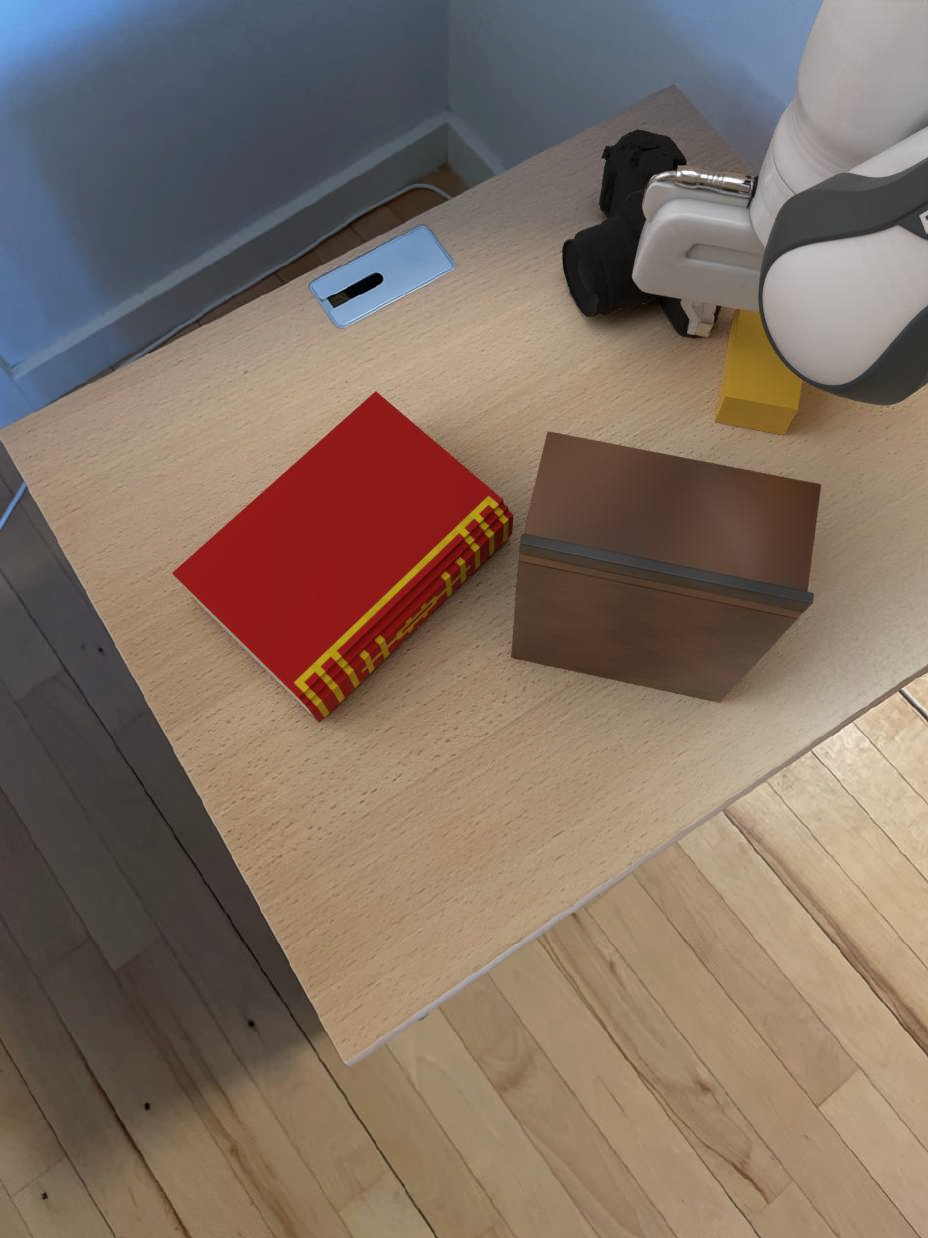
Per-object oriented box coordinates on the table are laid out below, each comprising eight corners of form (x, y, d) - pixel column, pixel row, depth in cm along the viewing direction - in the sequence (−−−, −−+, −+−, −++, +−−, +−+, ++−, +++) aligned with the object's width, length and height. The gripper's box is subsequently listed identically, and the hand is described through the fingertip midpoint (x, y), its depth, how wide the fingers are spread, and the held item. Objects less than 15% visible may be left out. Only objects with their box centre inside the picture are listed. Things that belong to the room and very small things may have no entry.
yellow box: (799, 330, 73) (814, 300, 70) (783, 435, 70) (798, 409, 67) (732, 318, 74) (743, 288, 70) (714, 422, 71) (725, 396, 67)
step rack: (748, 525, 68) (829, 392, 52) (720, 703, 64) (799, 619, 48) (550, 485, 69) (568, 343, 53) (510, 657, 65) (518, 561, 49)
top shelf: (815, 492, 50) (830, 472, 48) (799, 619, 48) (813, 603, 46) (546, 439, 51) (548, 418, 49) (518, 561, 49) (519, 543, 47)
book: (321, 726, 64) (308, 707, 59) (194, 599, 67) (171, 573, 62) (511, 539, 68) (513, 508, 63) (383, 428, 71) (375, 390, 66)
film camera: (529, 226, 77) (533, 135, 68) (640, 184, 78) (659, 90, 69) (615, 380, 72) (632, 303, 64) (733, 333, 73) (765, 251, 65)
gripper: (641, 206, 54) (609, 350, 68) (1019, 272, 53) (911, 406, 66) (660, 118, 56) (625, 275, 69) (1024, 179, 55) (918, 328, 68)
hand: (766, 339), depth 68 cm, fingers open, 8 cm apart
